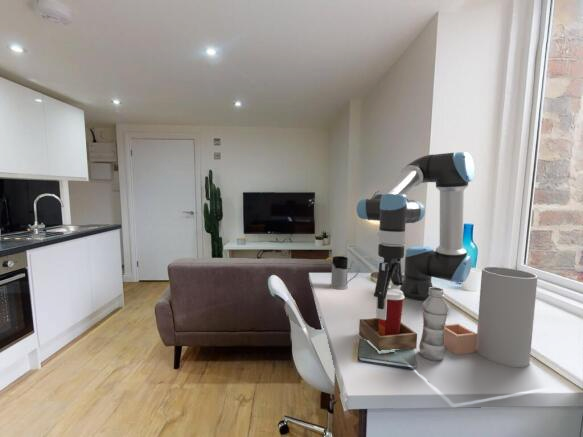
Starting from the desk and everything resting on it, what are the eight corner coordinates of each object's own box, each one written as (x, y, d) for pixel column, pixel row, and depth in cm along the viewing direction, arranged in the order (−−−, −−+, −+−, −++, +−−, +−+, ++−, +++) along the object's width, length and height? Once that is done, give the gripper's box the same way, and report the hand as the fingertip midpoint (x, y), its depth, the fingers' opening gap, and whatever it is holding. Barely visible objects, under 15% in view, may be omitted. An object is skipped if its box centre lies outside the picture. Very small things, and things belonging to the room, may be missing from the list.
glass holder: (330, 283, 148) (331, 255, 147) (358, 285, 146) (359, 257, 145) (330, 289, 139) (331, 259, 138) (359, 291, 138) (361, 260, 136)
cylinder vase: (533, 375, 74) (542, 281, 72) (476, 359, 80) (482, 273, 78) (525, 353, 84) (532, 271, 82) (475, 341, 91) (481, 264, 89)
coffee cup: (406, 336, 91) (408, 291, 90) (396, 346, 85) (398, 297, 84) (381, 328, 97) (383, 285, 95) (370, 336, 90) (372, 290, 89)
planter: (456, 341, 90) (458, 323, 90) (475, 353, 83) (477, 334, 83) (438, 343, 88) (439, 325, 88) (456, 356, 82) (457, 336, 81)
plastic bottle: (414, 351, 83) (418, 285, 82) (436, 351, 84) (440, 285, 83) (426, 364, 77) (431, 293, 76) (450, 364, 78) (455, 293, 76)
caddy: (392, 330, 97) (392, 316, 96) (416, 349, 85) (417, 333, 84) (358, 334, 94) (359, 319, 93) (379, 354, 82) (380, 337, 81)
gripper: (391, 238, 99) (388, 297, 101) (364, 248, 79) (361, 321, 81) (414, 240, 95) (410, 302, 96) (391, 252, 75) (387, 329, 76)
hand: (388, 311), depth 89 cm, fingers open, 13 cm apart
